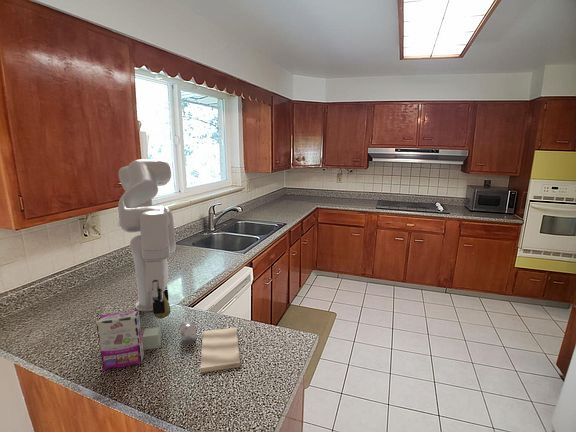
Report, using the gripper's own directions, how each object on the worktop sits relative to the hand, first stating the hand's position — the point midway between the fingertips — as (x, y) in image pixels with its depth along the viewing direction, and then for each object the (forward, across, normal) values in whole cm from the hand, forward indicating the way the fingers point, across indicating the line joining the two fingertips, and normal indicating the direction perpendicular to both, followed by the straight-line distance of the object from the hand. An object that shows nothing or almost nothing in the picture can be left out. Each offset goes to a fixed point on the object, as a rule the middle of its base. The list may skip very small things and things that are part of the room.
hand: (161, 306), depth 97 cm
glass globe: (+19, -9, +6) cm, 22 cm away
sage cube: (+19, -9, -6) cm, 22 cm away
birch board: (+19, -1, +17) cm, 25 cm away
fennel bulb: (+3, 0, 0) cm, 3 cm away
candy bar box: (+19, -1, -13) cm, 23 cm away
